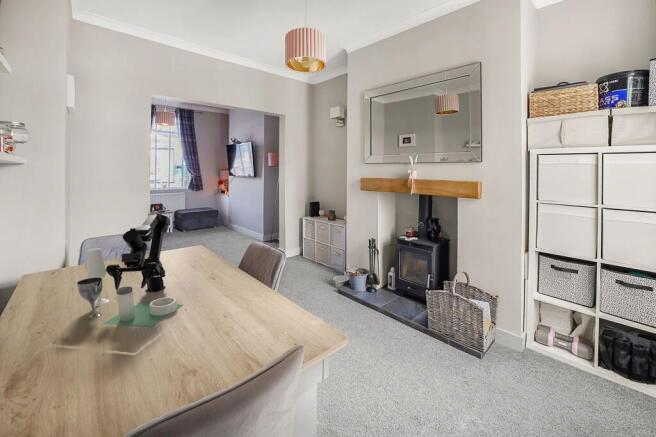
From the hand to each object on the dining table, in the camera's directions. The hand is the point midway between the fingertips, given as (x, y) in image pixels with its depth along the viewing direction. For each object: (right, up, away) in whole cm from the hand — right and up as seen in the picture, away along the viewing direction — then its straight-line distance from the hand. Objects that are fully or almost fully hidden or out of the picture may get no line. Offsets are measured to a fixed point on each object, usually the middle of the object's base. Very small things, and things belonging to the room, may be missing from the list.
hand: (129, 288), depth 127 cm
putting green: (+6, -11, +2) cm, 12 cm away
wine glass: (-14, -11, 0) cm, 18 cm away
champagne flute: (-21, -9, +14) cm, 27 cm away
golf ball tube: (+1, -11, -2) cm, 11 cm away
